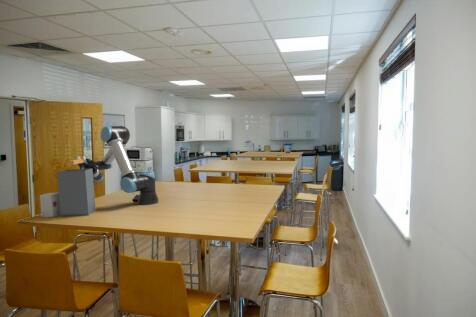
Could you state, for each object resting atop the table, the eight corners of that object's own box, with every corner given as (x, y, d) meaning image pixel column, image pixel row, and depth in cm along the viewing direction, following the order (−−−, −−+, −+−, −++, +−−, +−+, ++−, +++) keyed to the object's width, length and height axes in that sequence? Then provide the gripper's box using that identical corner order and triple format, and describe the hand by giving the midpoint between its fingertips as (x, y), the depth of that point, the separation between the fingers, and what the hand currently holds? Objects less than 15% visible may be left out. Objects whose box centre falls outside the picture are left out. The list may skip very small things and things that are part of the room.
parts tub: (95, 210, 232) (92, 168, 229) (88, 215, 219) (85, 170, 216) (69, 212, 231) (65, 169, 228) (60, 216, 218) (56, 171, 215)
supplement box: (52, 217, 217) (50, 195, 216) (41, 217, 219) (39, 195, 217) (62, 214, 226) (60, 192, 224) (51, 213, 227) (49, 192, 226)
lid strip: (87, 161, 241) (87, 158, 241) (73, 164, 217) (73, 160, 217) (83, 161, 241) (83, 158, 241) (69, 164, 217) (68, 160, 217)
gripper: (102, 174, 253) (91, 161, 231) (81, 175, 251) (68, 162, 230) (103, 165, 256) (93, 152, 235) (82, 166, 255) (69, 153, 234)
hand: (80, 157), depth 233 cm, fingers closed on lid strip, 3 cm apart
